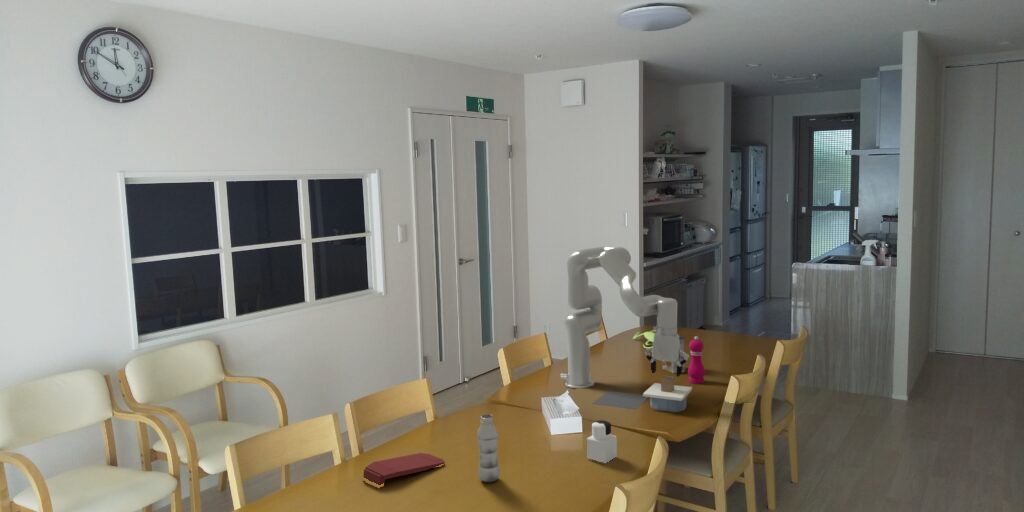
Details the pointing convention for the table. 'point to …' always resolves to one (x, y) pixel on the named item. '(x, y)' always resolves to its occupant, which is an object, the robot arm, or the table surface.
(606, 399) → the mat
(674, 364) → the coffee box
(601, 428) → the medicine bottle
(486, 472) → the plastic bottle
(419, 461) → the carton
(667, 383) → the cover
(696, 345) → the pepper mill
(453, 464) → the table surface
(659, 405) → the bowl
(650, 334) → the figurine
